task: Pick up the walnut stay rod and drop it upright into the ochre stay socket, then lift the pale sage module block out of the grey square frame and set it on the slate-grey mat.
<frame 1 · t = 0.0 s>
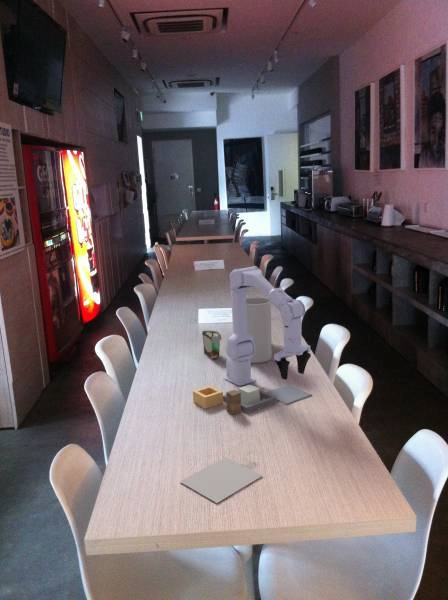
hand: (292, 376, 188), 10 cm above the table, tool pointing down, fingers open, 7 cm apart
stay socket: (208, 402, 194), on the table
cylinder vase: (256, 359, 235), on the table
grey square frame: (249, 401, 193), on the table
module block: (249, 402, 193), resting in grey square frame
food container: (214, 356, 241), on the table
slate mat: (287, 394, 198), on the table
plant pot: (250, 342, 257), on the table
stay rod: (234, 412, 186), on the table
grey square panel: (220, 468, 152), on the table
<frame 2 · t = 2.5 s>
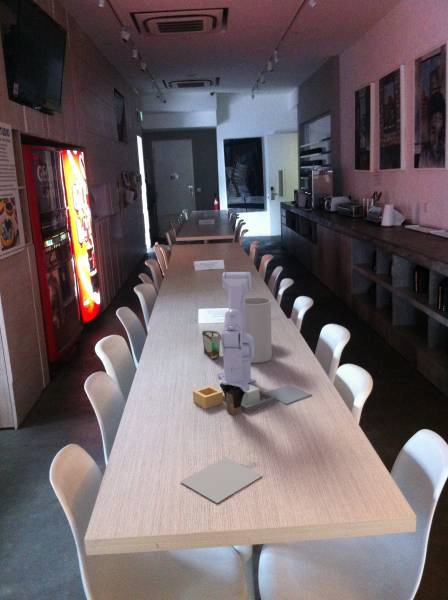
hand: (233, 405, 185), 2 cm above the table, tool pointing down, fingers closed on stay rod, 3 cm apart
stay rod: (234, 412, 186), on the table, touching gripper
everything else where it was.
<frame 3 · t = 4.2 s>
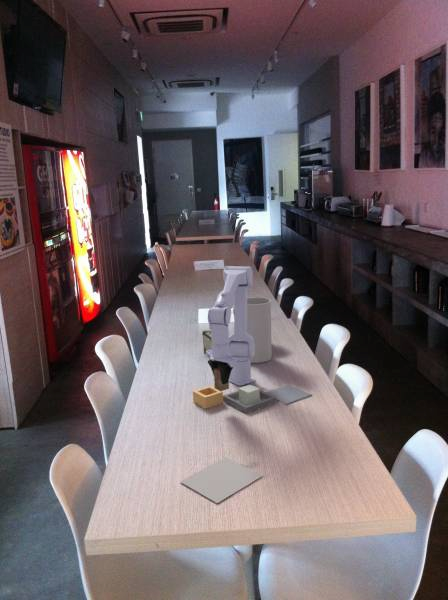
hand: (221, 381, 187), 9 cm above the table, tool pointing down, fingers closed on stay rod, 3 cm apart
stay rod: (221, 388, 188), point 7 cm above the table, touching gripper
everything else where it was.
when the fingers open (5 cm above the table, at t = 6.0 s): stay rod drops 3 cm, resting in stay socket.
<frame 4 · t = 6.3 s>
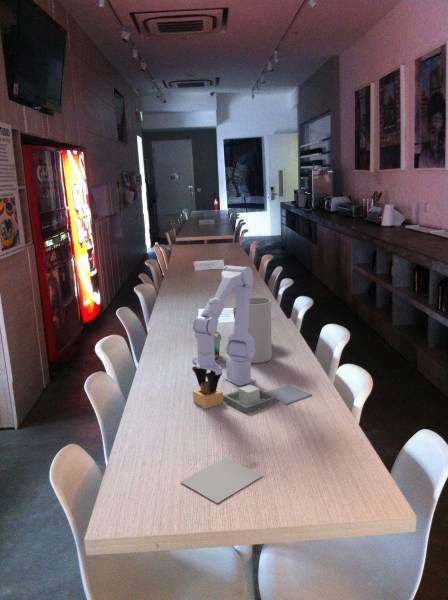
hand: (207, 388, 193), 5 cm above the table, tool pointing down, fingers open, 6 cm apart
stay rod: (208, 402, 194), resting in stay socket
everything else where it was.
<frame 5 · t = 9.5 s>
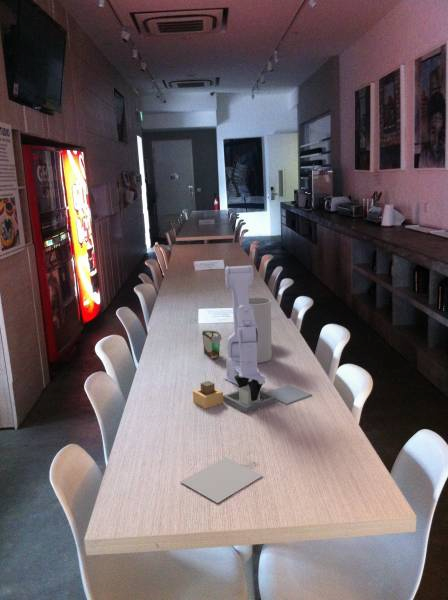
hand: (249, 397, 193), 2 cm above the table, tool pointing down, fingers closed on module block, 5 cm apart
module block: (249, 401, 193), resting in grey square frame, touching gripper
everything else where it was.
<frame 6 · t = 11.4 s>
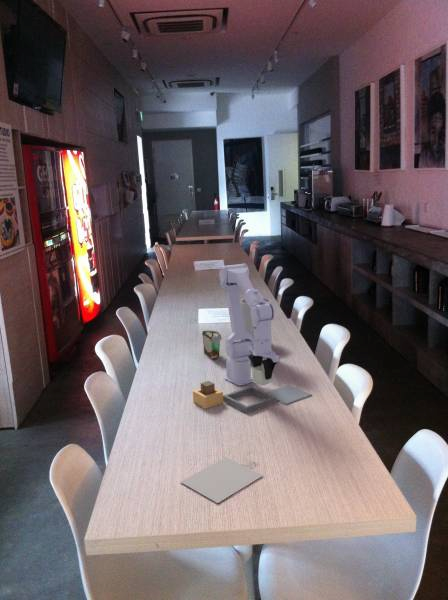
hand: (263, 376, 193), 8 cm above the table, tool pointing down, fingers closed on module block, 5 cm apart
module block: (262, 381, 193), point 6 cm above the table, touching gripper
everything else where it was.
when the fingers open (3 cm above the table, at t = 13.7 s): module block stays where it is, resting on slate mat.
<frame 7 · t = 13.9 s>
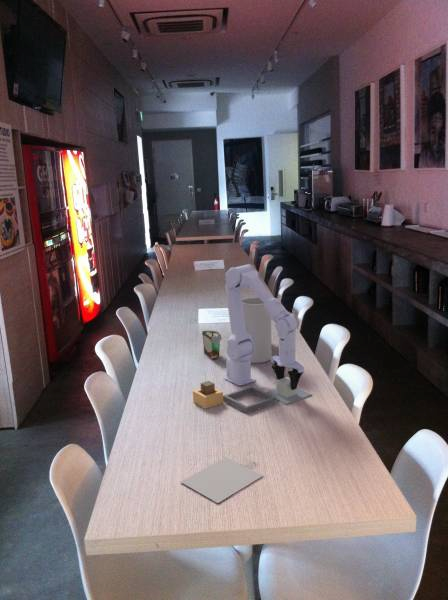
hand: (287, 386, 197), 3 cm above the table, tool pointing down, fingers open, 6 cm apart
module block: (286, 393, 198), resting on slate mat
everything else where it was.
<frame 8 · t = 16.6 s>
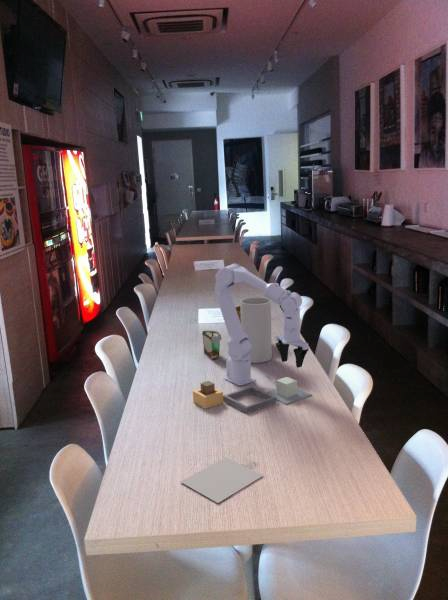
hand: (291, 364, 201), 9 cm above the table, tool pointing down, fingers open, 7 cm apart
nothing on the table moved.
at the end: stay rod 0.0 cm off-centre on the stay socket, point 0.0 cm above the stay socket's base; stay rod tilted 0°; module block inside the target area on the slate mat (0.3 cm from its centre), point 0.4 cm above the slate mat's base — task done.
